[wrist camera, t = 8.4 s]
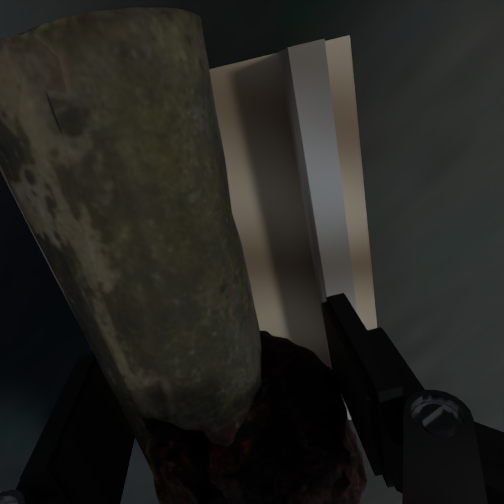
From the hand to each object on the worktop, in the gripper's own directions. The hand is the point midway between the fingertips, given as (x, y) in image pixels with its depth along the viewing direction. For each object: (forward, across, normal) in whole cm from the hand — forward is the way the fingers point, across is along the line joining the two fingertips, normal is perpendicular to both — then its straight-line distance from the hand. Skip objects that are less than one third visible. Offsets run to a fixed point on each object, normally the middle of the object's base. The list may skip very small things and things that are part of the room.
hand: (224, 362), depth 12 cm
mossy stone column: (+2, 0, 0) cm, 2 cm away
